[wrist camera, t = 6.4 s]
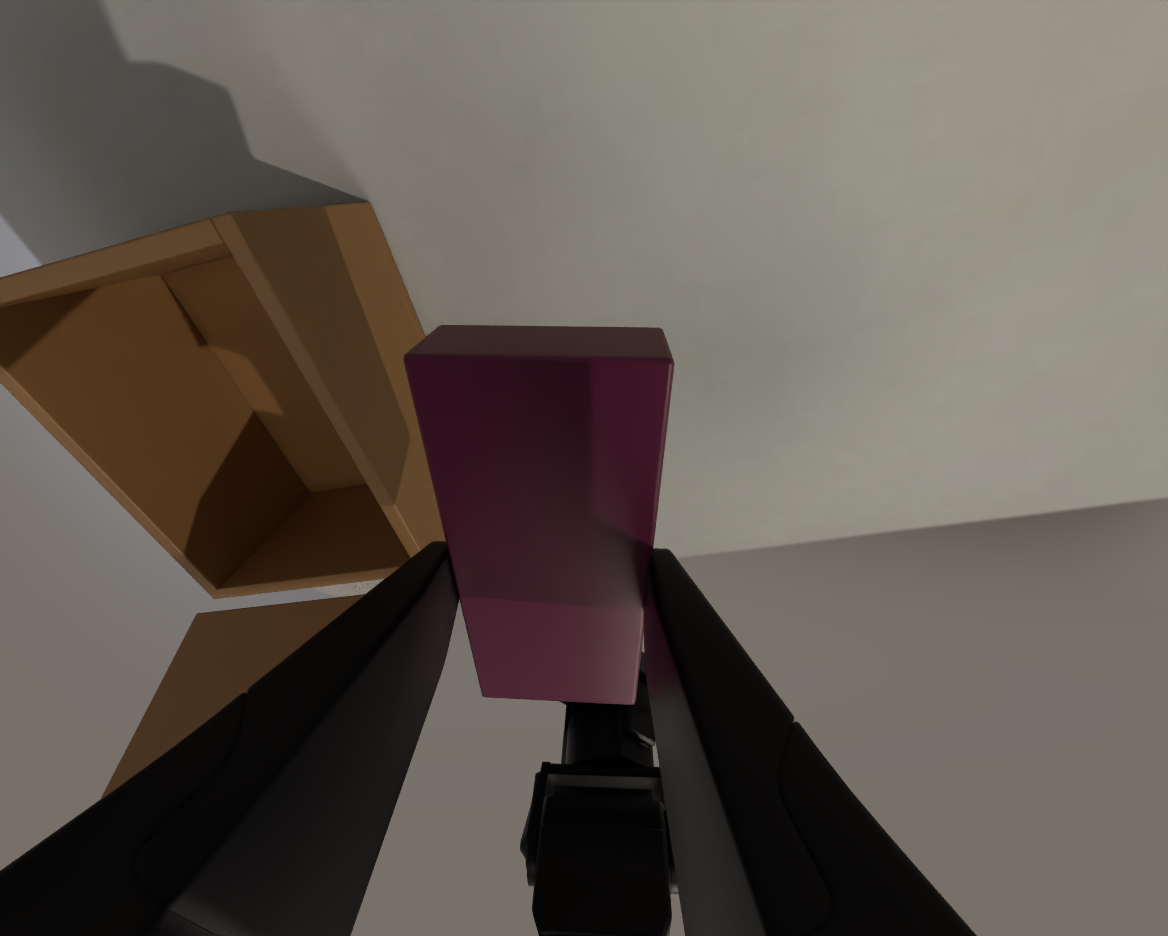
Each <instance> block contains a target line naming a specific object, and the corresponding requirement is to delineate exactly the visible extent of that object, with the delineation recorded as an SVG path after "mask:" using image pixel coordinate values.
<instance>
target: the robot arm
mask: <svg viewBox="0 0 1168 936" xmlns="http://www.w3.org/2000/svg"><path fill="white" fill-rule="evenodd" d="M458 603H459V595H458V590H457V586H456V582H455V578H454V574H453V569H452V565H451V561H450V557H449V552H448V548H447V544H446V541H433V542H431V543H429V544H428V545H427V546H425V547H424V548H423V549H422V550H420V551H419V552H418V553H417V554H415V555H414V556H413V557H412V558H410V559H409V560H408V561H407V562H405V563H404V564H403V565H402V566H400V567H399V568H398V569H397V570H395V571H394V572H393V573H392V574H390V575H389V576H388V577H387V578H385V579H384V580H383V581H382V582H380V583H379V584H378V585H377V586H375V587H374V588H373V589H372V590H370V591H369V592H368V593H367V594H365V595H364V596H363V597H362V598H360V599H359V600H358V601H357V602H355V603H354V604H353V605H352V606H350V607H349V608H348V609H347V610H345V611H344V612H343V613H342V614H340V615H339V616H338V617H337V618H335V619H334V620H333V621H332V622H330V623H329V624H328V625H327V626H325V627H324V628H323V629H322V630H320V631H319V632H318V633H317V634H315V635H314V636H313V637H312V638H310V639H309V640H308V641H307V642H305V643H304V644H303V645H302V646H300V647H299V648H298V649H297V650H295V651H294V652H293V653H292V654H290V655H289V656H288V657H287V658H285V659H284V660H283V661H282V662H280V663H279V664H278V665H277V666H275V667H274V668H273V669H272V670H270V671H269V672H268V673H267V674H265V675H264V676H263V677H262V678H260V679H259V680H258V681H257V682H255V683H254V684H253V685H252V686H250V687H249V688H248V690H247V693H241V694H240V695H239V696H237V697H236V698H235V699H234V700H232V701H231V702H230V703H229V704H227V705H226V706H225V707H224V708H222V709H221V710H220V711H219V712H217V713H216V714H215V715H214V716H212V717H211V718H210V719H208V720H207V721H206V722H205V723H203V724H202V725H201V726H199V727H198V728H197V729H196V730H194V731H193V732H192V733H190V734H189V735H188V736H187V737H185V738H184V739H183V740H181V741H180V742H179V743H177V744H176V745H175V746H174V747H172V748H171V749H170V750H168V751H167V752H166V753H164V754H163V755H161V756H160V757H159V758H157V759H156V760H155V761H153V762H152V763H150V764H149V765H148V766H146V767H145V768H144V769H142V770H141V771H139V772H138V773H137V774H135V775H134V776H133V777H131V778H130V779H129V780H127V781H126V782H124V783H123V784H122V785H120V786H119V787H118V788H116V789H115V790H113V791H112V792H111V793H109V794H108V795H106V796H105V797H103V798H102V799H101V800H100V801H98V802H96V803H95V804H94V805H92V806H91V807H89V808H88V809H87V810H85V811H84V812H82V813H81V814H80V815H78V816H77V817H75V818H74V819H73V820H71V821H70V822H68V823H67V824H66V825H64V826H63V827H61V828H60V829H58V830H57V831H56V832H54V833H53V834H51V835H50V836H49V837H47V838H46V839H44V840H43V841H41V842H40V843H39V844H37V845H36V846H34V847H33V848H32V849H30V850H29V851H27V852H26V853H25V854H23V855H22V856H20V857H19V858H18V859H16V860H15V861H13V862H12V863H11V864H9V865H8V866H6V867H5V868H4V869H2V870H1V871H0V936H350V935H351V932H352V930H353V926H354V924H355V921H356V918H357V915H358V912H359V909H360V906H361V904H362V901H363V898H364V895H365V892H366V889H367V886H368V883H369V880H370V877H371V874H372V872H373V869H374V866H375V863H376V860H377V857H378V854H379V852H380V849H381V846H382V843H383V840H384V837H385V834H386V831H387V829H388V826H389V822H390V820H391V817H392V814H393V811H394V808H395V805H396V803H397V800H398V797H399V794H400V791H401V788H402V785H403V782H404V780H405V777H406V774H407V771H408V768H409V765H410V762H411V759H412V756H413V754H414V751H415V748H416V745H417V742H418V739H419V736H420V733H421V730H422V728H423V724H424V722H425V719H426V716H427V713H428V710H429V707H430V704H431V702H432V698H433V696H434V693H435V690H436V687H437V684H438V681H439V678H440V676H441V672H442V669H443V666H444V663H445V659H446V655H447V650H448V647H449V642H450V638H451V634H452V629H453V625H454V620H455V616H456V611H457V606H458ZM643 619H644V648H645V669H646V679H647V683H646V682H644V681H642V680H641V679H639V678H638V684H637V693H636V701H635V704H633V705H625V704H606V703H587V702H568V701H559V702H562V703H563V704H565V705H566V714H565V725H564V737H563V748H562V760H561V764H551V763H550V762H542V767H541V771H540V772H538V773H536V775H535V783H534V790H533V797H532V802H531V807H530V811H529V814H528V817H527V821H526V824H525V828H524V831H523V835H522V838H521V844H520V850H521V852H522V854H523V855H524V857H525V859H526V868H527V879H528V885H529V886H534V894H533V903H532V911H533V917H534V920H535V923H536V927H537V930H538V934H539V936H669V934H670V927H671V919H672V911H671V898H670V894H679V898H680V904H681V911H682V917H683V924H684V930H685V936H977V935H976V934H975V933H974V932H973V931H972V930H971V929H970V927H969V926H968V925H967V924H966V923H965V922H964V921H963V920H962V918H961V917H960V916H959V915H958V914H957V913H956V912H955V910H954V909H953V908H952V907H951V906H950V905H949V903H948V902H947V901H946V900H945V899H944V898H943V897H942V896H941V894H940V893H939V892H938V891H937V890H936V889H935V888H934V886H933V885H932V884H931V883H930V882H929V881H928V880H927V879H926V877H925V876H924V875H923V874H922V873H921V872H920V870H919V869H918V868H917V867H916V866H915V865H914V864H913V862H912V861H911V860H910V859H909V858H908V857H907V856H906V854H905V853H904V852H903V851H902V850H901V849H900V848H899V846H898V845H897V844H896V843H895V842H894V841H893V840H892V838H891V837H890V836H889V835H888V834H887V833H886V831H885V830H884V829H883V828H882V827H881V826H880V824H879V823H878V822H877V821H876V820H875V818H874V817H873V816H872V815H871V814H870V813H869V811H868V810H867V809H866V808H865V807H864V806H863V804H862V803H861V802H860V801H859V800H858V799H857V798H856V796H855V795H854V794H853V793H852V792H851V790H850V789H849V788H848V786H847V785H846V784H845V783H844V781H843V780H842V779H841V777H840V776H839V775H838V774H837V772H836V771H835V770H834V768H833V767H832V766H831V765H830V763H829V762H828V761H827V759H826V758H825V757H824V756H823V754H822V753H821V752H820V750H819V749H818V748H817V747H816V745H815V744H814V743H813V741H812V740H811V738H810V737H809V736H808V734H807V733H806V732H805V730H804V729H803V728H802V726H801V725H800V724H799V723H798V722H793V721H794V716H793V715H792V713H791V712H790V710H789V709H788V708H787V706H786V705H785V704H784V702H783V701H782V700H781V698H780V697H779V696H778V694H777V693H776V692H775V690H774V689H773V688H772V686H771V685H770V684H769V682H768V681H767V680H766V678H765V677H764V676H763V674H762V673H761V672H760V670H759V669H758V668H757V666H756V665H755V663H754V662H753V661H752V659H751V658H750V657H749V655H748V654H747V653H746V651H745V650H744V649H743V647H742V646H741V645H740V643H739V642H738V641H737V640H736V638H735V637H734V635H733V634H732V633H731V631H730V630H729V629H728V627H727V626H726V625H725V623H724V622H723V621H722V619H721V618H720V616H719V615H718V614H717V612H716V611H715V610H714V608H713V607H712V606H711V605H710V603H709V602H708V600H707V599H706V598H705V597H704V595H703V594H702V592H701V591H700V590H699V588H698V587H697V586H696V584H695V583H694V582H693V580H692V579H691V578H690V576H689V575H688V574H687V572H686V571H685V569H684V568H683V567H682V565H681V564H680V563H679V561H678V560H677V559H676V557H675V556H674V555H673V553H672V552H671V551H670V550H668V549H658V548H653V554H652V558H651V559H650V560H649V561H648V567H647V576H646V585H645V595H644V604H643ZM655 741H656V746H657V753H658V759H659V766H660V767H654V764H653V749H652V746H654V745H655Z"/></svg>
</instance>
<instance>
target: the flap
mask: <svg viewBox="0 0 1168 936" xmlns="http://www.w3.org/2000/svg"><path fill="white" fill-rule="evenodd" d="M364 595H365V594H364ZM364 595H355V596H346V597H338V598H330V599H321V600H312V601H303V602H294V603H286V604H278V605H268V606H259V607H250V608H241V609H233V610H225V611H215V612H207V613H198V614H196V616H195V618H194V620H193V622H192V624H191V626H190V627H189V630H188V631H187V633H186V635H185V637H184V639H183V641H182V643H181V645H180V647H179V649H178V651H177V653H176V655H175V656H174V658H173V661H172V662H171V664H170V666H169V668H168V670H167V672H166V674H165V676H164V678H163V680H162V682H161V683H160V685H159V687H158V689H157V691H156V693H155V695H154V697H153V699H152V701H151V703H150V705H149V707H148V708H147V711H146V712H145V714H144V716H143V718H142V720H141V722H140V724H139V726H138V728H137V730H136V732H135V734H134V736H133V737H132V740H131V742H130V743H129V745H128V747H127V749H126V751H125V753H124V755H123V757H122V759H121V761H120V762H119V764H118V766H117V768H116V770H115V772H114V774H113V776H112V778H111V780H110V782H109V784H108V786H107V788H106V790H105V791H104V793H103V795H102V798H103V797H105V796H106V795H108V794H109V793H111V792H112V791H113V790H115V789H116V788H118V787H119V786H120V785H122V784H123V783H124V782H126V781H127V780H129V779H130V778H131V777H133V776H134V775H135V774H137V773H138V772H139V771H141V770H142V769H144V768H145V767H146V766H148V765H149V764H150V763H152V762H153V761H155V760H156V759H157V758H159V757H160V756H161V755H163V754H164V753H166V752H167V751H168V750H170V749H171V748H172V747H174V746H175V745H176V744H177V743H179V742H180V741H181V740H183V739H184V738H185V737H187V736H188V735H189V734H190V733H192V732H193V731H194V730H196V729H197V728H198V727H199V726H201V725H202V724H203V723H205V722H206V721H207V720H208V719H210V718H211V717H212V716H214V715H215V714H216V713H217V712H219V711H220V710H221V709H222V708H224V707H225V706H226V705H227V704H229V703H230V702H231V701H232V700H234V699H235V698H236V697H237V696H239V695H240V694H241V693H247V690H248V688H249V687H250V686H252V685H253V684H254V683H255V682H257V681H258V680H259V679H260V678H262V677H263V676H264V675H265V674H267V673H268V672H269V671H270V670H272V669H273V668H274V667H275V666H277V665H278V664H279V663H280V662H282V661H283V660H284V659H285V658H287V657H288V656H289V655H290V654H292V653H293V652H294V651H295V650H297V649H298V648H299V647H300V646H302V645H303V644H304V643H305V642H307V641H308V640H309V639H310V638H312V637H313V636H314V635H315V634H317V633H318V632H319V631H320V630H322V629H323V628H324V627H325V626H327V625H328V624H329V623H330V622H332V621H333V620H334V619H335V618H337V617H338V616H339V615H340V614H342V613H343V612H344V611H345V610H347V609H348V608H349V607H350V606H352V605H353V604H354V603H355V602H357V601H358V600H359V599H360V598H362V597H363V596H364Z"/></svg>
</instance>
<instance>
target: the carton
mask: <svg viewBox="0 0 1168 936" xmlns="http://www.w3.org/2000/svg"><path fill="white" fill-rule="evenodd" d="M424 338H425V334H424V332H423V329H422V327H421V325H420V322H419V320H418V317H417V315H416V312H415V310H414V307H413V305H412V303H411V300H410V298H409V295H408V293H407V290H406V288H405V286H404V283H403V281H402V278H401V276H400V273H399V271H398V268H397V266H396V264H395V261H394V259H393V256H392V254H391V251H390V249H389V246H388V244H387V242H386V239H385V237H384V234H383V232H382V229H381V227H380V225H379V222H378V220H377V217H376V215H375V212H374V210H373V207H372V205H371V203H370V202H362V203H361V202H360V203H346V204H333V205H320V206H306V207H293V208H279V209H266V210H253V211H239V212H228V213H224V214H221V215H217V216H214V217H212V218H207V219H203V220H200V221H196V222H193V223H189V224H186V225H182V226H179V227H175V228H172V229H168V230H165V231H161V232H158V233H154V234H151V235H147V236H144V237H140V238H137V239H133V240H130V241H126V242H123V243H119V244H116V245H112V246H109V247H106V248H102V249H99V250H95V251H92V252H88V253H85V254H81V255H78V256H74V257H71V258H67V259H64V260H60V261H57V262H53V263H50V264H46V265H43V266H40V267H36V268H33V269H29V270H26V271H22V272H18V273H15V274H12V275H8V276H4V277H1V278H0V383H1V384H2V385H3V386H4V387H5V388H6V389H7V390H8V391H9V392H10V393H11V394H12V395H13V396H14V397H15V398H16V399H17V400H18V401H19V402H20V403H21V404H22V405H23V406H24V407H25V408H26V409H27V410H28V411H29V412H30V413H31V414H32V415H33V416H34V417H35V418H36V419H37V420H38V421H39V422H40V423H41V424H42V425H43V426H44V427H45V428H46V430H47V431H48V432H49V433H51V435H52V436H53V437H55V439H56V440H57V441H58V442H59V443H60V444H61V445H62V446H63V447H64V448H65V449H66V450H67V451H68V452H69V453H70V454H72V456H73V457H74V458H75V459H76V460H77V461H78V462H79V463H80V464H81V465H82V466H83V467H84V468H85V469H86V470H87V471H88V472H89V473H90V474H91V475H92V476H93V477H94V478H95V479H96V480H97V481H98V482H99V483H100V484H101V485H102V486H103V487H104V488H105V489H106V490H107V491H108V492H109V493H110V494H111V495H112V496H113V497H114V498H115V499H116V500H117V501H118V502H119V503H120V504H121V505H122V506H123V507H124V508H125V509H126V510H127V511H128V512H129V513H130V514H131V516H132V517H133V518H134V519H135V520H137V522H139V524H141V526H142V527H144V529H145V530H146V531H147V532H148V533H149V534H151V536H152V537H153V538H154V539H155V540H156V541H157V542H158V543H159V544H160V545H161V546H162V547H163V548H164V549H165V550H166V551H167V552H168V553H169V554H170V555H171V556H172V557H173V558H174V559H175V560H176V561H177V562H178V563H179V564H180V565H181V566H182V567H183V568H184V569H185V570H186V571H187V572H188V573H189V574H190V575H191V576H192V577H193V578H194V579H195V580H196V581H197V582H198V583H199V584H200V585H201V586H202V587H203V588H204V589H205V590H206V591H207V592H208V593H209V594H210V595H211V596H212V597H213V598H214V599H219V598H224V597H226V598H228V597H236V596H245V595H253V594H262V593H269V592H278V591H286V590H295V589H303V588H312V587H320V586H329V585H337V584H345V583H354V582H362V581H370V580H379V579H385V578H387V577H388V576H389V575H390V574H392V573H393V572H394V571H395V570H397V569H398V568H399V567H400V566H402V565H403V564H404V563H405V562H407V561H408V560H409V559H410V558H412V557H413V556H414V555H415V554H417V553H418V552H419V551H420V550H422V549H423V548H424V547H425V546H427V545H428V544H429V543H431V542H433V541H446V540H445V535H444V531H443V527H442V523H441V518H440V514H439V510H438V506H437V501H436V497H435V493H434V489H433V484H432V480H431V476H430V472H429V467H428V463H427V459H426V455H425V450H424V446H423V442H422V438H421V433H420V429H419V425H418V421H417V416H416V412H415V408H414V404H413V399H412V395H411V391H410V387H409V382H408V378H407V374H406V370H405V365H404V361H403V358H404V354H406V353H407V352H408V351H409V350H410V349H412V348H413V347H414V346H415V345H417V344H418V343H419V342H420V341H421V340H423V339H424Z"/></svg>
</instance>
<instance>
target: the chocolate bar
mask: <svg viewBox="0 0 1168 936" xmlns="http://www.w3.org/2000/svg"><path fill="white" fill-rule="evenodd" d="M403 361H404V365H405V370H406V374H407V378H408V382H409V387H410V391H411V395H412V399H413V404H414V408H415V412H416V416H417V421H418V425H419V429H420V433H421V438H422V442H423V446H424V450H425V455H426V459H427V463H428V467H429V472H430V476H431V480H432V484H433V489H434V493H435V497H436V501H437V506H438V510H439V514H440V518H441V523H442V527H443V531H444V535H445V540H446V544H447V548H448V552H449V557H450V561H451V565H452V569H453V574H454V578H455V582H456V586H457V590H458V595H459V599H460V603H461V607H462V612H463V616H464V620H465V624H466V629H467V633H468V637H469V641H470V646H471V650H472V654H473V658H474V663H475V667H476V671H477V675H478V680H479V684H480V688H481V692H482V696H483V697H491V698H510V699H530V700H549V701H568V702H587V703H606V704H625V705H633V704H635V701H636V693H637V684H638V676H639V667H640V658H641V649H642V640H643V632H644V619H643V604H644V595H645V585H646V576H647V567H648V561H649V560H650V559H651V558H652V554H653V545H654V537H655V528H656V519H657V511H658V502H659V493H660V485H661V476H662V467H663V458H664V450H665V441H666V432H667V424H668V415H669V406H670V398H671V389H672V380H673V372H674V361H673V358H672V355H671V352H670V349H669V346H668V343H667V340H666V338H665V335H664V332H663V329H661V328H647V327H567V326H487V325H441V326H439V327H437V328H436V329H435V330H434V331H432V332H431V333H430V334H429V335H428V336H426V337H425V338H424V339H423V340H421V341H420V342H419V343H418V344H417V345H415V346H414V347H413V348H412V349H410V350H409V351H408V352H407V353H406V354H404V358H403Z"/></svg>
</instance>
